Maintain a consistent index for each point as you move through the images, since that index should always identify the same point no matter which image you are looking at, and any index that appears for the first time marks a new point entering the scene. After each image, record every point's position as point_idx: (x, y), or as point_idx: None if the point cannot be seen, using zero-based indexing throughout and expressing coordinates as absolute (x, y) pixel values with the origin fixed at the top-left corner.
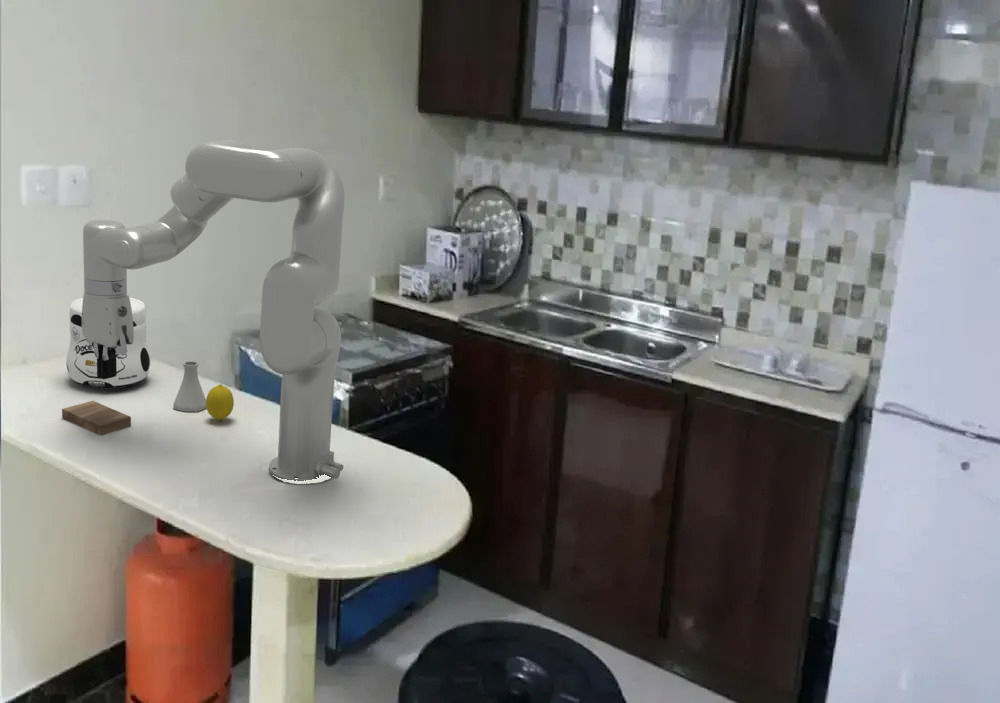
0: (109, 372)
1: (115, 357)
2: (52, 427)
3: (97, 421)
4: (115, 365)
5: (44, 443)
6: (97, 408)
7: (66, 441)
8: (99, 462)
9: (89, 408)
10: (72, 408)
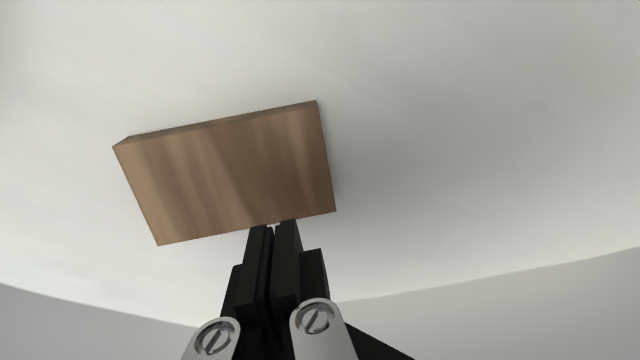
0: (327, 283)
1: (346, 327)
2: (223, 266)
3: (302, 205)
4: (295, 257)
5: None
6: (195, 163)
7: None
8: (471, 254)
9: (184, 183)
10: (165, 223)
